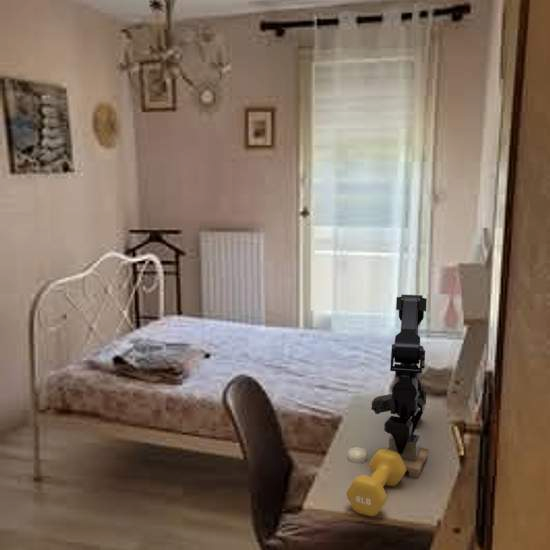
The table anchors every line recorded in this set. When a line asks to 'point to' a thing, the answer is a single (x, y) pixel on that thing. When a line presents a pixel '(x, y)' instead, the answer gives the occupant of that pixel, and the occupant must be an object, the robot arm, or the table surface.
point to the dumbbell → (376, 482)
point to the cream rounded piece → (357, 454)
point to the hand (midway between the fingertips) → (404, 446)
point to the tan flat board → (416, 463)
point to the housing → (408, 447)
